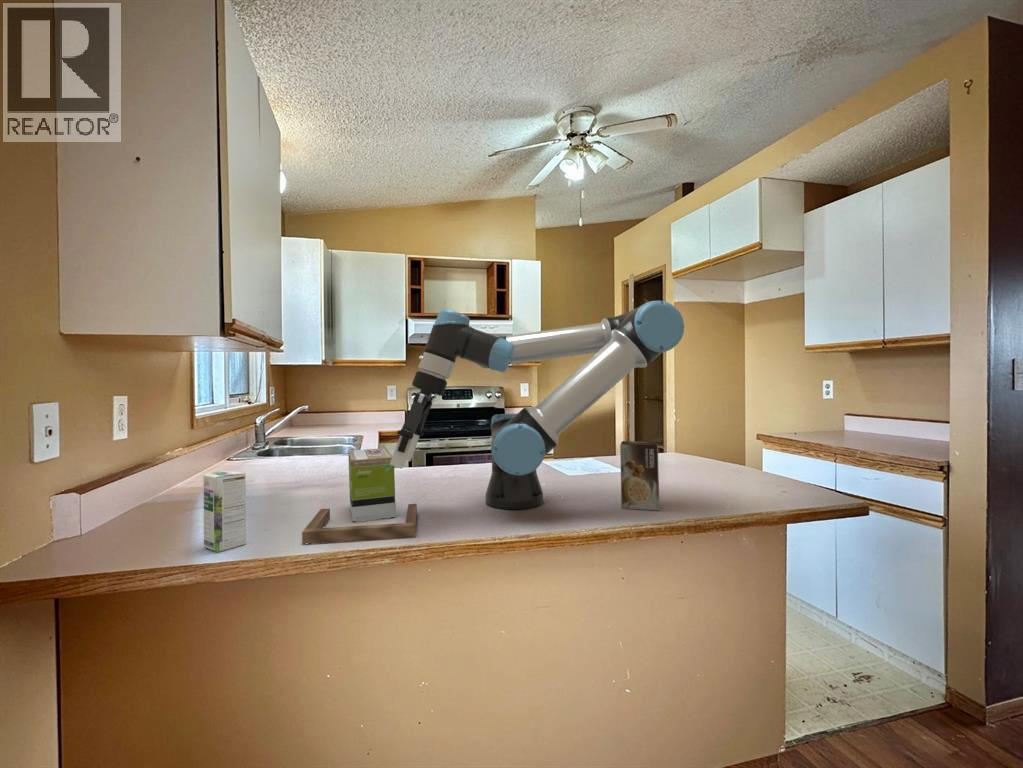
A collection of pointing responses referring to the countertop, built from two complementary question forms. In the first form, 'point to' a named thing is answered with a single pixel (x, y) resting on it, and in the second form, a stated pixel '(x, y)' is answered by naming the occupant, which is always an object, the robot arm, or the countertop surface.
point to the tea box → (371, 484)
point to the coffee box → (639, 475)
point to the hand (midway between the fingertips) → (400, 462)
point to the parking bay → (358, 529)
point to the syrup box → (224, 510)
